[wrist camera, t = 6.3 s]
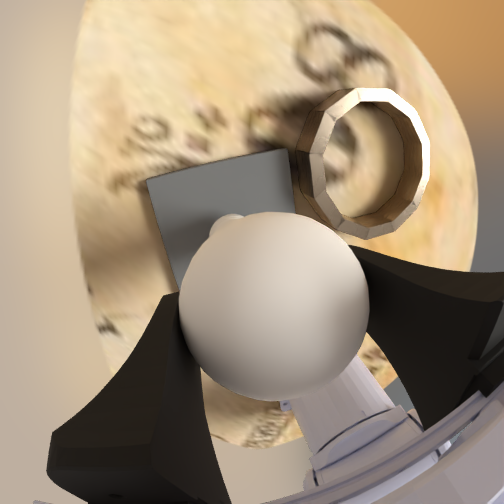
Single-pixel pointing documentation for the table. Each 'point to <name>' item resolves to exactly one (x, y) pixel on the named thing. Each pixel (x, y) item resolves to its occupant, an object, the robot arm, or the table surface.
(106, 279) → the table surface
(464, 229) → the table surface
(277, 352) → the lightbulb
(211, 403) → the table surface
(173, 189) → the mat
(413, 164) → the collar
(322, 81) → the table surface
